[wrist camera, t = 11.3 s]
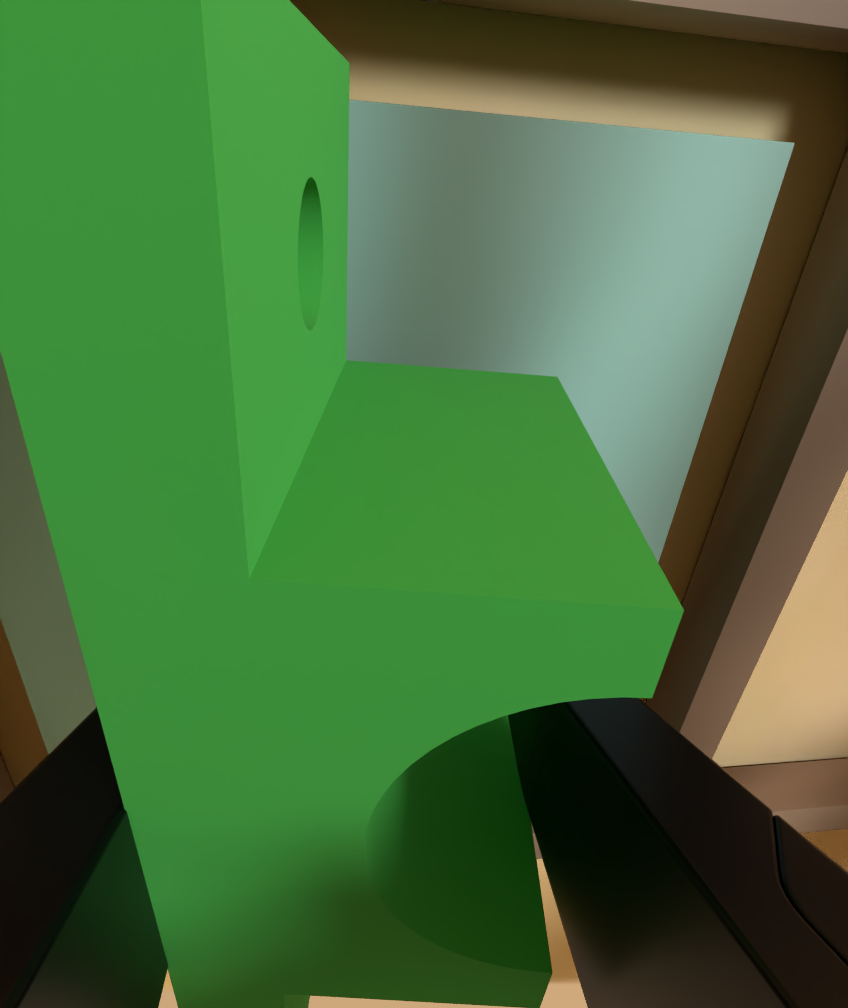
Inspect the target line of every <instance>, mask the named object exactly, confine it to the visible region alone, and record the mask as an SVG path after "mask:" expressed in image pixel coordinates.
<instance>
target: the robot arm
mask: <svg viewBox="0 0 848 1008" xmlns="http://www.w3.org/2000/svg"><path fill="white" fill-rule="evenodd" d="M508 720H509V725H510V730H511V736H512V741H513V746H514V752H515V757H516V762H517V768H518V773H519V778H520V783H521V787H522V792H523V796H524V799H525V803H526V806H527V810H528V813H529V817H530V820H531V823H532V826H533V830H534V833H535V836H536V840H537V843H538V846H539V849H540V853H541V856H542V859H543V862H544V866H545V869H546V872H547V875H548V879H549V882H550V885H551V889H552V892H553V895H554V898H555V902H556V905H557V908H558V911H559V915H560V918H561V921H562V925H563V928H564V931H565V934H566V938H567V941H568V944H569V947H570V951H571V954H572V957H573V961H574V964H575V967H576V970H577V974H578V977H579V980H580V983H581V987H582V990H583V993H584V997H585V1000H586V1003H587V1006H588V1008H848V871H846V870H845V869H844V868H843V867H842V866H840V865H839V864H838V863H837V862H835V861H834V860H833V859H832V858H830V857H829V856H828V855H827V854H825V853H824V852H823V851H822V850H820V849H819V848H818V847H817V846H815V845H814V844H813V843H812V842H811V841H809V840H808V839H807V838H806V837H805V836H803V835H802V834H801V833H800V832H799V831H797V830H796V829H795V828H794V827H793V826H791V825H790V824H789V823H788V822H787V821H785V820H784V819H783V818H782V817H781V816H779V815H774V816H773V812H772V810H771V808H770V807H768V806H767V805H766V804H765V803H764V802H762V801H761V800H760V799H759V798H758V797H756V796H755V795H754V794H753V793H752V792H750V791H749V790H748V789H747V788H746V787H744V786H743V785H742V784H741V783H740V782H738V781H737V780H736V779H735V778H734V777H732V776H731V775H730V774H729V773H728V772H726V771H725V770H724V769H723V768H722V767H720V766H719V765H718V764H717V763H716V762H714V761H713V760H712V759H711V758H710V757H709V756H707V755H706V754H705V753H704V752H703V751H701V750H700V749H699V748H698V747H697V746H695V745H694V744H693V743H692V742H691V741H689V740H688V739H687V738H686V737H685V736H683V735H682V734H681V733H680V732H679V731H677V730H676V729H675V728H674V727H673V726H671V725H670V724H669V723H668V722H667V721H665V720H664V719H663V718H662V717H661V716H659V715H658V714H657V713H656V712H655V711H653V710H652V709H651V708H650V707H649V706H648V705H646V704H645V703H644V702H643V701H642V700H640V699H639V698H626V697H619V698H598V699H586V700H578V701H569V702H561V703H556V704H551V705H546V706H541V707H536V708H531V709H527V710H524V711H520V712H517V713H513V714H510V715H508ZM167 969H168V963H167V959H166V955H165V951H164V948H163V944H162V940H161V937H160V933H159V929H158V925H157V922H156V918H155V914H154V911H153V907H152V903H151V899H150V896H149V892H148V888H147V884H146V881H145V877H144V873H143V870H142V866H141V862H140V858H139V855H138V851H137V847H136V844H135V840H134V836H133V832H132V829H131V825H130V821H129V818H128V814H127V811H126V810H125V809H124V805H123V801H122V798H121V794H120V790H119V787H118V783H117V779H116V776H115V772H114V768H113V765H112V761H111V757H110V753H109V750H108V746H107V742H106V739H105V735H104V731H103V728H102V724H101V720H100V717H99V713H98V709H97V707H96V708H95V709H94V710H93V711H92V712H91V713H90V714H89V715H88V716H87V717H86V718H85V719H84V720H83V721H82V722H81V723H80V724H79V725H78V726H77V727H76V728H75V729H74V730H73V731H72V732H71V733H70V734H69V735H68V736H67V737H66V738H65V739H64V740H63V741H62V742H61V743H60V744H59V745H58V746H57V747H56V748H55V749H54V750H53V751H52V752H51V753H50V754H49V755H48V756H47V757H46V758H45V759H44V760H43V761H42V762H41V763H40V764H39V765H38V766H37V767H36V768H35V769H34V770H33V771H32V772H31V773H29V774H28V775H27V776H26V777H25V778H24V779H23V780H22V781H21V782H20V783H19V784H18V785H17V786H16V787H15V788H14V789H13V790H12V791H11V792H10V793H9V794H8V795H7V796H6V797H5V798H4V799H3V800H2V801H1V802H0V1008H158V1006H159V1002H160V998H161V993H162V990H163V985H164V981H165V977H166V973H167Z"/></svg>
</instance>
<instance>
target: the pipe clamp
mask: <svg viewBox="0 0 848 1008" xmlns="http://www.w3.org/2000/svg"><path fill="white" fill-rule="evenodd" d="M349 72H350V63H349V62H348V61H347V60H346V59H345V58H344V57H343V56H342V55H341V54H340V53H339V52H338V51H337V50H336V49H335V47H334V46H333V45H332V44H331V43H330V42H329V41H328V40H327V39H326V38H325V37H324V36H323V35H322V34H321V33H320V32H319V31H318V30H317V29H316V28H315V27H314V26H313V24H312V23H311V22H310V21H309V20H308V19H307V18H306V17H305V16H304V15H303V14H302V13H301V12H300V11H299V10H298V9H297V8H296V7H295V6H294V5H293V4H292V2H291V1H290V0H0V351H1V355H2V358H3V362H4V366H5V369H6V373H7V377H8V381H9V384H10V388H11V392H12V395H13V399H14V403H15V406H16V410H17V414H18V417H19V421H20V425H21V429H22V432H23V436H24V440H25V443H26V447H27V451H28V454H29V458H30V462H31V465H32V469H33V473H34V477H35V480H36V484H37V488H38V491H39V495H40V499H41V502H42V506H43V510H44V513H45V517H46V521H47V525H48V528H49V532H50V536H51V539H52V543H53V547H54V550H55V554H56V558H57V561H58V565H59V569H60V573H61V576H62V580H63V584H64V587H65V591H66V595H67V598H68V602H69V606H70V609H71V613H72V617H73V621H74V624H75V628H76V632H77V635H78V639H79V643H80V646H81V650H82V654H83V657H84V661H85V665H86V669H87V672H88V676H89V680H90V683H91V687H92V691H93V694H94V698H95V702H96V705H97V709H98V713H99V717H100V720H101V724H102V728H103V731H104V735H105V739H106V742H107V746H108V750H109V753H110V757H111V761H112V765H113V768H114V772H115V776H116V779H117V783H118V787H119V790H120V794H121V798H122V801H123V805H124V809H125V810H126V811H127V814H128V818H129V821H130V825H131V829H132V832H133V836H134V840H135V844H136V847H137V851H138V855H139V858H140V862H141V866H142V870H143V873H144V877H145V881H146V884H147V888H148V892H149V896H150V899H151V903H152V907H153V911H154V914H155V918H156V922H157V925H158V929H159V933H160V937H161V940H162V944H163V948H164V951H165V955H166V959H167V963H168V971H169V975H170V979H171V982H172V986H173V990H174V994H175V997H176V1001H177V1004H178V1008H308V1004H309V998H310V995H312V996H331V997H347V998H365V999H382V1000H402V1001H419V1002H435V1003H453V1004H472V1005H488V1006H505V1007H524V1008H540V1005H541V1002H542V1000H543V997H544V994H545V992H546V989H547V986H548V983H549V981H550V978H551V975H552V967H551V960H550V953H549V946H548V939H547V932H546V925H545V918H544V910H543V903H542V896H541V889H540V882H539V875H538V868H537V861H536V854H535V847H534V839H533V832H532V825H531V820H530V817H529V813H528V810H527V806H526V803H525V799H524V796H523V792H522V787H521V783H520V778H519V773H518V768H517V762H516V757H515V752H514V746H513V741H512V736H511V730H510V725H509V720H508V715H510V714H513V713H517V712H520V711H524V710H527V709H531V708H536V707H541V706H546V705H551V704H556V703H561V702H569V701H578V700H586V699H598V698H619V697H626V698H652V697H653V694H654V692H655V689H656V686H657V683H658V681H659V678H660V675H661V672H662V670H663V667H664V664H665V661H666V659H667V656H668V653H669V650H670V648H671V645H672V642H673V639H674V637H675V634H676V631H677V628H678V626H679V623H680V620H681V617H682V615H683V612H684V609H683V607H682V606H681V604H680V602H679V600H678V598H677V596H676V595H675V593H674V591H673V589H672V587H671V585H670V583H669V582H668V580H667V578H666V576H665V574H664V572H663V571H662V569H661V567H660V565H659V563H658V561H657V560H656V558H655V556H654V554H653V552H652V550H651V548H650V547H649V545H648V543H647V541H646V539H645V537H644V536H643V534H642V532H641V530H640V528H639V526H638V524H637V523H636V521H635V519H634V517H633V515H632V513H631V512H630V510H629V508H628V506H627V504H626V502H625V500H624V499H623V497H622V495H621V493H620V491H619V489H618V488H617V486H616V484H615V482H614V480H613V478H612V476H611V475H610V473H609V471H608V469H607V467H606V465H605V464H604V462H603V460H602V458H601V456H600V454H599V453H598V451H597V449H596V447H595V445H594V443H593V441H592V440H591V438H590V436H589V434H588V432H587V430H586V429H585V427H584V425H583V423H582V421H581V419H580V417H579V416H578V414H577V412H576V410H575V408H574V406H573V405H572V403H571V401H570V399H569V397H568V395H567V393H566V392H565V390H564V388H563V386H562V384H561V382H560V381H559V379H558V377H555V376H542V375H530V374H517V373H504V372H491V371H478V370H466V369H453V368H440V367H427V366H414V365H402V364H389V363H376V362H363V361H350V360H346V339H347V250H348V161H349Z"/></svg>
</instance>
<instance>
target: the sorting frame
mask: <svg viewBox="0 0 848 1008" xmlns="http://www.w3.org/2000/svg"><path fill="white" fill-rule="evenodd" d="M423 1H431V2H439V3H447V4H455V5H463V6H471V7H480V8H488V9H496V10H504V11H512V12H520V13H528V14H536V15H544V16H552V17H560V18H568V19H576V20H584V21H592V22H600V23H608V24H617V25H625V26H633V27H641V28H649V29H657V30H665V31H673V32H681V33H689V34H697V35H705V36H713V37H721V38H729V39H737V40H746V41H754V42H762V43H770V44H778V45H786V46H794V47H802V48H810V49H818V50H826V51H834V52H842V53H848V0H423ZM794 144H795V143H791V142H781V141H770V140H760V139H750V138H739V137H729V136H719V135H708V134H698V133H688V132H677V131H667V130H657V129H647V128H636V127H626V126H616V125H605V124H595V123H585V122H574V121H564V120H554V119H543V118H533V117H523V116H512V115H502V114H492V113H482V112H471V111H461V110H451V109H440V108H430V107H420V106H409V105H399V104H389V103H378V102H368V101H358V100H349V161H348V250H347V339H346V360H350V361H363V362H376V363H389V364H402V365H414V366H427V367H440V368H453V369H466V370H478V371H491V372H504V373H517V374H530V375H542V376H555V377H558V379H559V381H560V382H561V384H562V386H563V388H564V390H565V392H566V393H567V395H568V397H569V399H570V401H571V403H572V405H573V406H574V408H575V410H576V412H577V414H578V416H579V417H580V419H581V421H582V423H583V425H584V427H585V429H586V430H587V432H588V434H589V436H590V438H591V440H592V441H593V443H594V445H595V447H596V449H597V451H598V453H599V454H600V456H601V458H602V460H603V462H604V464H605V465H606V467H607V469H608V471H609V473H610V475H611V476H612V478H613V480H614V482H615V484H616V486H617V488H618V489H619V491H620V493H621V495H622V497H623V499H624V500H625V502H626V504H627V506H628V508H629V510H630V512H631V513H632V515H633V517H634V519H635V521H636V523H637V524H638V526H639V528H640V530H641V532H642V534H643V536H644V537H645V539H646V541H647V543H648V545H649V547H650V548H651V550H652V552H653V554H654V556H655V558H656V560H657V561H658V563H659V560H660V557H661V553H662V550H663V547H664V544H665V541H666V538H667V535H668V532H669V529H670V526H671V523H672V520H673V517H674V513H675V510H676V507H677V504H678V501H679V498H680V495H681V492H682V489H683V486H684V483H685V480H686V476H687V473H688V470H689V467H690V464H691V461H692V458H693V455H694V452H695V449H696V446H697V443H698V440H699V436H700V433H701V430H702V427H703V424H704V421H705V418H706V415H707V412H708V409H709V406H710V403H711V400H712V396H713V393H714V390H715V387H716V384H717V381H718V378H719V375H720V372H721V369H722V366H723V363H724V360H725V356H726V353H727V350H728V347H729V344H730V341H731V338H732V335H733V332H734V329H735V326H736V323H737V320H738V316H739V313H740V310H741V307H742V304H743V301H744V298H745V295H746V292H747V289H748V286H749V283H750V280H751V276H752V273H753V270H754V267H755V264H756V261H757V258H758V255H759V252H760V249H761V246H762V243H763V240H764V236H765V233H766V230H767V227H768V224H769V221H770V218H771V215H772V212H773V209H774V206H775V203H776V200H777V196H778V193H779V190H780V187H781V184H782V181H783V178H784V175H785V172H786V169H787V166H788V163H789V160H790V156H791V153H792V150H793V147H794ZM847 470H848V149H847V152H846V155H845V157H844V160H843V163H842V166H841V168H840V171H839V174H838V177H837V179H836V182H835V185H834V188H833V190H832V193H831V196H830V199H829V201H828V204H827V207H826V210H825V212H824V215H823V218H822V221H821V223H820V226H819V229H818V232H817V234H816V237H815V240H814V243H813V245H812V248H811V251H810V254H809V256H808V259H807V262H806V265H805V267H804V270H803V273H802V276H801V278H800V281H799V284H798V287H797V289H796V292H795V295H794V298H793V300H792V303H791V306H790V309H789V311H788V314H787V317H786V320H785V322H784V325H783V328H782V331H781V333H780V336H779V339H778V342H777V344H776V347H775V350H774V353H773V355H772V358H771V361H770V364H769V366H768V369H767V372H766V375H765V377H764V380H763V383H762V386H761V388H760V391H759V394H758V397H757V399H756V402H755V405H754V408H753V410H752V413H751V416H750V419H749V421H748V424H747V427H746V430H745V432H744V435H743V438H742V441H741V443H740V446H739V449H738V452H737V454H736V457H735V460H734V463H733V465H732V468H731V471H730V474H729V476H728V479H727V482H726V485H725V487H724V490H723V493H722V496H721V498H720V501H719V504H718V507H717V509H716V512H715V515H714V518H713V520H712V523H711V526H710V529H709V531H708V534H707V537H706V540H705V542H704V545H703V548H702V551H701V553H700V556H699V559H698V562H697V564H696V567H695V570H694V573H693V575H692V578H691V581H690V584H689V586H688V589H687V592H686V595H685V597H684V600H683V603H682V607H683V609H684V612H683V615H682V617H681V620H680V623H679V626H678V628H677V631H676V634H675V637H674V639H673V642H672V645H671V648H670V650H669V653H668V656H667V659H666V661H665V664H664V667H663V670H662V672H661V675H660V678H659V681H658V683H657V686H656V689H655V692H654V694H653V697H652V698H648V699H647V702H646V705H648V706H649V707H650V708H651V709H652V710H653V711H655V712H656V713H657V714H658V715H659V716H661V717H662V718H663V719H664V720H665V721H667V722H668V723H669V724H670V725H671V726H673V727H674V728H675V729H676V730H677V731H679V732H680V733H681V734H682V735H683V736H685V737H686V738H687V739H688V740H689V741H691V742H692V743H693V744H694V745H695V746H697V747H698V748H699V749H700V750H701V751H703V752H704V753H705V754H706V755H707V756H709V757H710V758H711V759H712V757H713V755H714V753H715V751H716V749H717V747H718V745H719V742H720V740H721V738H722V736H723V734H724V732H725V730H726V728H727V725H728V723H729V721H730V719H731V717H732V715H733V713H734V710H735V708H736V706H737V704H738V702H739V700H740V698H741V696H742V693H743V691H744V689H745V687H746V685H747V683H748V681H749V679H750V676H751V674H752V672H753V670H754V668H755V666H756V664H757V662H758V659H759V657H760V655H761V653H762V651H763V649H764V647H765V645H766V642H767V640H768V638H769V636H770V634H771V632H772V630H773V628H774V625H775V623H776V621H777V619H778V617H779V615H780V613H781V610H782V608H783V606H784V604H785V602H786V600H787V598H788V596H789V593H790V591H791V589H792V587H793V585H794V583H795V581H796V579H797V576H798V574H799V572H800V570H801V568H802V566H803V564H804V562H805V559H806V557H807V555H808V553H809V551H810V549H811V547H812V545H813V542H814V540H815V538H816V536H817V534H818V532H819V530H820V528H821V525H822V523H823V521H824V519H825V517H826V515H827V513H828V511H829V508H830V506H831V504H832V502H833V500H834V498H835V496H836V493H837V491H838V489H839V487H840V485H841V483H842V481H843V479H844V476H845V474H846V472H847ZM0 619H1V622H2V624H3V627H4V630H5V633H6V636H7V639H8V641H9V644H10V647H11V650H12V653H13V656H14V659H15V661H16V664H17V667H18V670H19V673H20V676H21V679H22V681H23V684H24V687H25V690H26V693H27V696H28V698H29V701H30V704H31V707H32V710H33V713H34V716H35V718H36V721H37V724H38V727H39V730H40V733H41V736H42V738H43V741H44V744H45V747H46V750H47V753H48V755H49V754H50V753H51V752H52V751H53V750H54V749H55V748H56V747H57V746H58V745H59V744H60V743H61V742H62V741H63V740H64V739H65V738H66V737H67V736H68V735H69V734H70V733H71V732H72V731H73V730H74V729H75V728H76V727H77V726H78V725H79V724H80V723H81V722H82V721H83V720H84V719H85V718H86V717H87V716H88V715H89V714H90V713H91V712H92V711H93V710H94V709H95V708H96V707H97V705H96V702H95V698H94V694H93V691H92V687H91V683H90V680H89V676H88V672H87V669H86V665H85V661H84V657H83V654H82V650H81V646H80V643H79V639H78V635H77V632H76V628H75V624H74V621H73V617H72V613H71V609H70V606H69V602H68V598H67V595H66V591H65V587H64V584H63V580H62V576H61V573H60V569H59V565H58V561H57V558H56V554H55V550H54V547H53V543H52V539H51V536H50V532H49V528H48V525H47V521H46V517H45V513H44V510H43V506H42V502H41V499H40V495H39V491H38V488H37V484H36V480H35V477H34V473H33V469H32V465H31V462H30V458H29V454H28V451H27V447H26V443H25V440H24V436H23V432H22V429H21V425H20V421H19V417H18V414H17V410H16V406H15V403H14V399H13V395H12V392H11V388H10V384H9V381H8V377H7V373H6V369H5V366H4V362H3V358H2V355H1V351H0ZM723 769H724V770H725V771H726V772H728V773H729V774H730V775H731V776H732V777H734V778H735V779H736V780H737V781H738V782H740V783H741V784H742V785H743V786H744V787H746V788H747V789H748V790H749V791H750V792H752V793H753V794H754V795H755V796H756V797H758V798H759V799H760V800H761V801H762V802H764V803H765V804H766V805H767V806H768V807H770V808H771V810H772V812H773V816H774V815H779V816H781V817H782V818H783V819H784V820H785V821H787V822H788V823H789V824H790V825H791V826H793V827H794V828H795V829H796V830H797V831H799V832H800V833H808V832H818V831H828V830H839V829H848V758H845V759H832V760H819V761H806V762H793V763H780V764H767V765H754V766H741V767H729V768H723ZM13 789H14V786H13V784H12V781H11V779H10V776H9V774H8V771H7V769H6V767H5V764H4V762H3V759H2V757H1V754H0V802H1V801H2V800H3V799H4V798H5V797H6V796H7V795H8V794H9V793H10V792H11V791H12V790H13ZM531 825H532V823H531ZM532 832H533V839H534V847H535V854H536V859H541V858H542V856H541V853H540V849H539V846H538V843H537V840H536V836H535V833H534V830H533V826H532Z"/></svg>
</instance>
